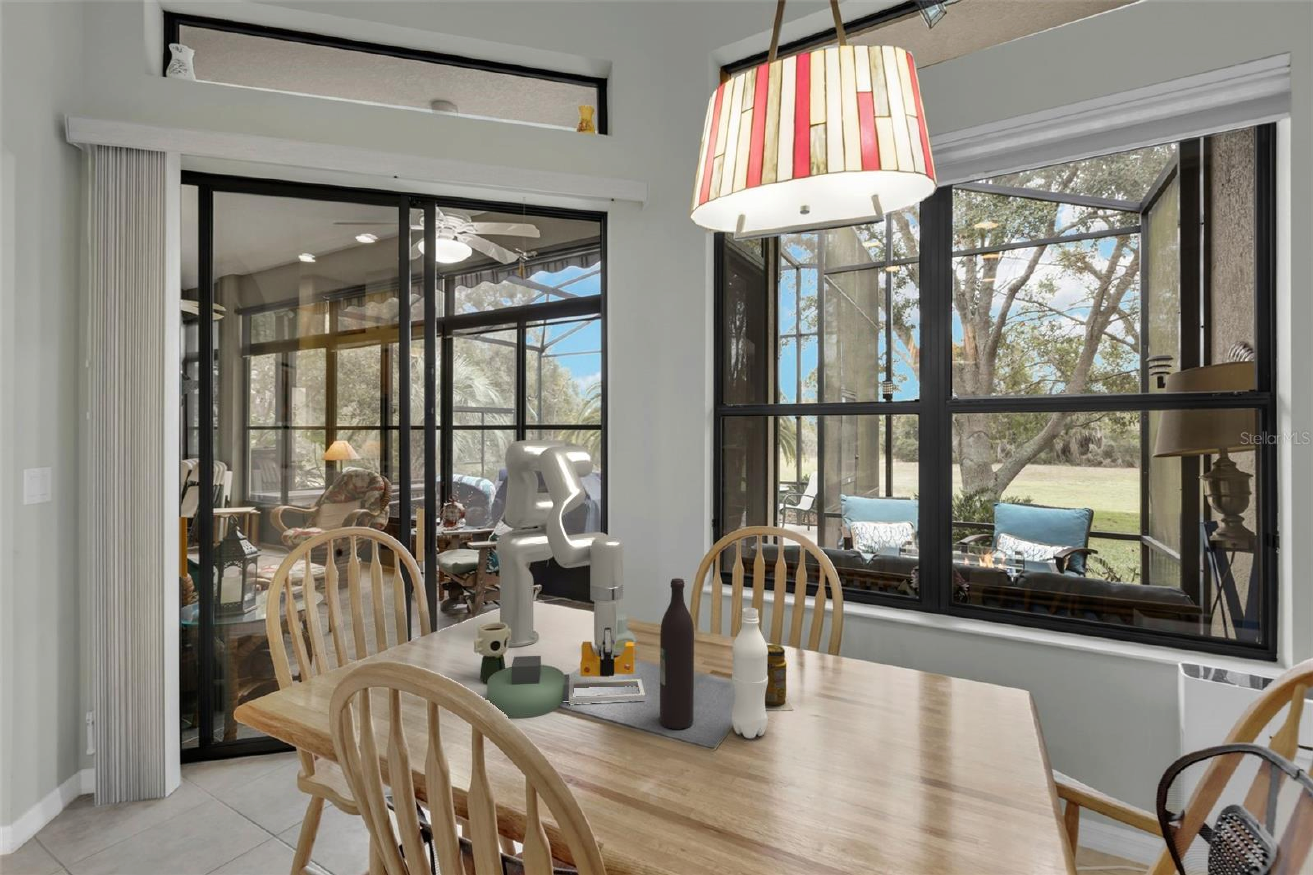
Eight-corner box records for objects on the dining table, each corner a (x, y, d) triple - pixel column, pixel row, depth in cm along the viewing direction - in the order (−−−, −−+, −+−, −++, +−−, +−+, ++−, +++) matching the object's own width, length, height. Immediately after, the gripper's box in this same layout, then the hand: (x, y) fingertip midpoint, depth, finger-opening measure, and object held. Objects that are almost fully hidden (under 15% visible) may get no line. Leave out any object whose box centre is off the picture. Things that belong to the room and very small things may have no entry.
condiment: (784, 694, 145) (784, 643, 145) (793, 711, 137) (793, 656, 137) (752, 694, 145) (753, 643, 145) (760, 711, 137) (760, 656, 136)
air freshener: (604, 661, 165) (604, 623, 165) (591, 651, 172) (591, 615, 172) (640, 653, 171) (641, 617, 170) (627, 644, 178) (627, 609, 178)
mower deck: (492, 686, 148) (492, 649, 148) (639, 680, 153) (639, 643, 153) (482, 720, 131) (482, 677, 131) (647, 711, 136) (647, 670, 136)
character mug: (484, 690, 146) (484, 635, 146) (465, 683, 150) (465, 629, 150) (520, 675, 155) (520, 623, 155) (501, 669, 159) (501, 618, 159)
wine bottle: (676, 711, 136) (676, 574, 136) (700, 722, 131) (701, 579, 131) (652, 722, 131) (653, 579, 131) (677, 734, 126) (678, 585, 126)
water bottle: (745, 744, 122) (746, 617, 122) (724, 728, 128) (725, 607, 128) (774, 736, 125) (775, 612, 125) (753, 721, 132) (754, 603, 131)
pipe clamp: (580, 676, 142) (580, 648, 142) (583, 669, 146) (583, 641, 146) (633, 677, 142) (633, 648, 141) (634, 669, 146) (634, 642, 146)
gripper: (589, 583, 152) (589, 658, 152) (591, 603, 135) (590, 687, 135) (620, 582, 153) (620, 657, 153) (625, 601, 136) (625, 685, 136)
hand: (606, 670), depth 144 cm, fingers closed on pipe clamp, 4 cm apart
